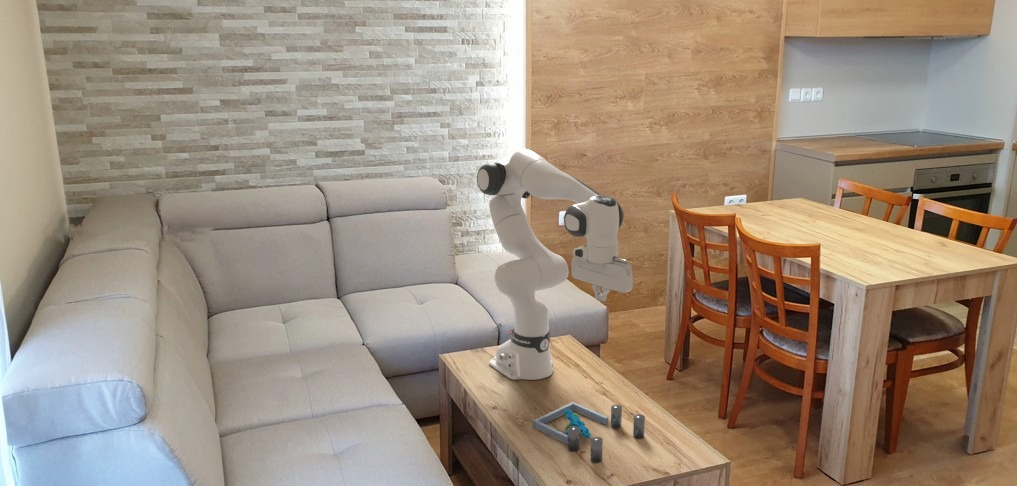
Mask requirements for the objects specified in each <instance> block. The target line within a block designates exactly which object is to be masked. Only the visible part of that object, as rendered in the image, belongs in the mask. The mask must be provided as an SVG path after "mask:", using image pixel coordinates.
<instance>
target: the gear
mask: <svg viewBox="0 0 1017 486" xmlns="http://www.w3.org/2000/svg"><path fill="white" fill-rule="evenodd" d="M564 415H565V418H566V419H567V420H568V421H569V423H568V424H567V425H566V426H565V428H566V429H567V430H566V431H565V432H563V433H564V434H566V435H568V428H569V427H570V426H577V427H579V429H580V430H579V433H580V434H581V436H582V437H583V438H586V439H588V440H589V439H591V436H592V434H591V433H590V429H589V428H588V427H586V424H585V422H584V421H581V419H580V417H579V414H577V412H575V413H574V412H573V410H572V411H570V410H569V409H566V410H565V412H564Z"/></svg>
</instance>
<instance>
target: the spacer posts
mask: <svg viewBox="0 0 1017 486" xmlns="http://www.w3.org/2000/svg"><path fill="white" fill-rule="evenodd" d="M610 409H611V410H610V427H611V429H614V430H615V429H617V430H618V429H621V428H622V421H623V420H622V417H623V414H622V413H623V406H622V405H621V404H612V405H611V407H610ZM645 421H646V416H645V415H644V414H640V413H639V414H638V413H637V414H634V415H633V426H632V427H633V428H632V429H633V433H632V436H633V438H634V439H636V440H642V439H644V437H645V424H646V422H645ZM567 430H568V444H567V450H568V451H569V452H578V451H580V432H579V430H580V429H579V427H577V426H570V427H569V428H568V429H567ZM603 440H604V439H603V438H602V437H600V436H592V437H590V462H592V463H593V464H600V463H602V461H603V443H604V441H603Z"/></svg>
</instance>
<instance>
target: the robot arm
mask: <svg viewBox="0 0 1017 486" xmlns="http://www.w3.org/2000/svg"><path fill="white" fill-rule="evenodd" d="M476 174H477V175H476V184H477V186H478V188H479V190H480V192H481V193H482V194H483V195H486V196H492V197H491V199H489V204H488V205H489V206H488V208H489V213H490V217H491V220H492V224H493V227H494V229H495V231H496V234H497V237H498V239H499V241H500V244H501V246H502V249H503V251H505V252H506V253H509V254H511V255H513V256H516V257H517V258H518V259H514V260H509V261H508V262H505V263H503V264H500V265H498V266H497V267H496V269H495V272H494V277H493V278H494V283H495V284H494V285H495V287H496V289H497V290H498V291H499V293H501V294H503V295H504V296H506V298H507V299H509V301H510V303H511V305H512V308H513V315H514V317H513V318H514V328H513V329H511V330H509V331H508V332H509V333H508V334H509V335H511V337H510V339H508V340H507V341H505V342H503V343H502V344H500V345H499V347H497V350H496V356H494V357H493V358H491V359H490V360H489V363H488V365H489V366H490V367H492V368H493V369H495V370H497V371H498V372H499V373H501V374H502V375H504V376H505V377H506V378H508V379H509V380H514V381H515V380H529V381H530V380H531V381H532V380H534V381H535V380H536V381H537V380H542V379H545V378H547V377H550V376H551V375H552V374H553V373H554V369H553V360H552V356H551V354H552V353H551V347H550V346H551V345H550V341H551V332H550V330H549V327H550V324H549V321H550V319H549V318H550V312H549V309H548V307H547V305H546V304H545V303H544V302H542V301H540V300H537V299H536V295H535V294H536V292H537V291H543V290H544V291H545V290H549V289H552V288H556V287H558V286H560V285H562V284H564V283H565V282H566V281H567V278H568V277H569V265H568V263H567V261H566V260H565V258H564V257H562V256H561V255H559V254H557V253H555V252H552V251H551V250H549V249H548V248H547V247H546V246H545V245H544V244H543V243H542V242H541V241H540V240H539V239H538V237H536V234H535V232H534V231H533V229H532V226H531V225H530V222H529V219H528V218H527V215H526V213H525V211H524V208H523V206H522V199H528V198H530V196H531V195H532V196H533V197H535V198H537V199H541V200H566V201H571V202H573V203H575V204H572V205H570V206H568V207H567V209H566V211H565V213H564V215H563V217H564V218H563V224H564V227H565V229H566V231H567V233H569V235H571V236H573V237H577V238H578V237H580V238H582V237H584V238H586V239H587V240H586V244H585V245H581V246H579V247H575V248H574V249H572V256H573V257H572V260H571V266H570V267H571V271H570V272H571V276H572V279H575V280H578V281H582V282H585V283H588V284H591V288H592V290H593V292H594V299H596V300H598V301H601V302H606V301H607V298H608V294H609V293H610V292H611V290H612V291H616V292H618V293H623V294H625V293H629V292H630V291H631V290H632V289H633V288H634V278H633V271H632V270H633V266H632V264H631V263H630V262H629V260H628V259H624V258H621V257H619V240H618V233H619V230H620V228H621V226H622V224H623V222H624V216H625V215H624V210H623V207H622V206H621V205H620V203H619V202H618V201H617V200H616V199H614V197H611V196H609V195H608V196H607V195H602V194H600V193H599V192H598V191H596V190H595V189H593V188H592V187H590V186H589V185H587V184H586V183H584V182H583V181H581V180H580V179H578V178H577V177H574V176H572V175H570V174H568V173H566V172H564V171H563V170H560V169H558V168H557V167H556V166H554V165H553V164H551V162H549V161H547V159H545V158H544V157H543V156H541V155H539V154H538V153H536V152H535V151H533V150H530V149H527V148H522V149H518V150H517V151H515V152H514V153H513V154H512V155H511V157H510V159H509V160H506V161H499V162H497V161H495V162H488V163H485V164H482V165H481V166H480V168H479V169H478V171H477V173H476ZM600 287H601V289H600ZM601 291H602V292H601Z"/></svg>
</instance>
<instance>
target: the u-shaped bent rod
mask: <svg viewBox="0 0 1017 486" xmlns="http://www.w3.org/2000/svg"><path fill="white" fill-rule="evenodd" d="M566 409H569V410H570V411H572V412H573V411H574V412H575V413H579V414H581V415H582V416H583V415H584V416H585V417H587V418H590V419H592V420H593V421H596V422H598V423H601V424H603V425H608V424H609V417H608V416H606V415H605V414H602V413H600V412H597V411H595V410H593V409H590V408H588V407H586V406H583V405H582V404H579V403H577V402H574V401H572V402H569V403H567V404H565V405H563V406H561V407H558V408H557V409H555V410H553V411H551V412H548V413H546V414H544V415H542V416H540V417H538V418H536V419H534V420H532V428H534V429H536V430H538V431H540V432H542V433H544V434H545V435H548V436H550V437H552V438H554V439H555V440H558V441H560V442H561V443H563V444H565V445H568V435H566V434H564V433H565V432H562V431H560V430H558V429H555V428H554V427H552V426H550V425H547V423H549V422H551V421H553V420H556V419H557V418H560V417H562V416H564V415H565V414H564V412H565V410H566Z"/></svg>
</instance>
